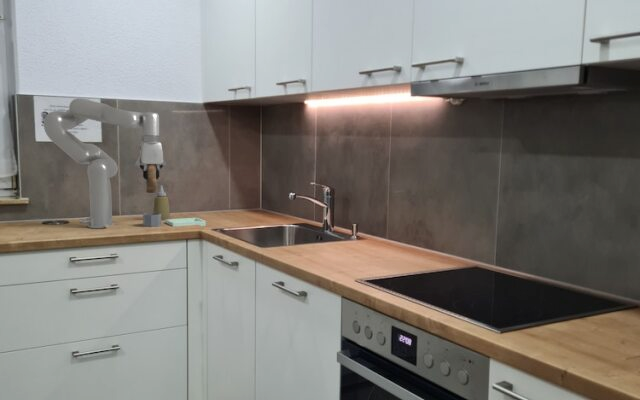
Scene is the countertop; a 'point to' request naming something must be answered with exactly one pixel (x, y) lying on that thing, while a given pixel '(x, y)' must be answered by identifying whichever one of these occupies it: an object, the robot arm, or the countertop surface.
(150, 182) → the walnut pin
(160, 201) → the squeeze bottle
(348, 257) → the countertop surface
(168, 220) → the pale green tray
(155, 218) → the grey block
